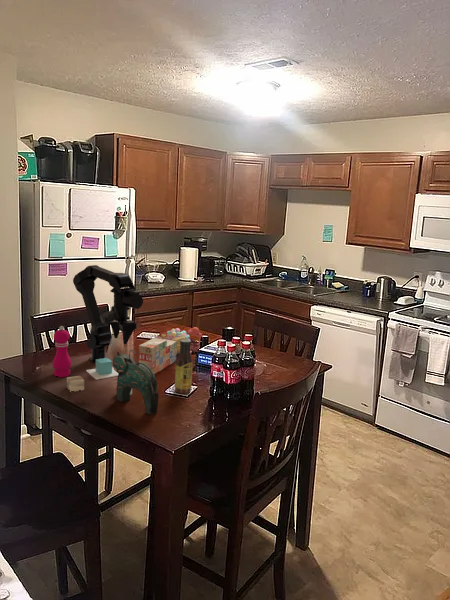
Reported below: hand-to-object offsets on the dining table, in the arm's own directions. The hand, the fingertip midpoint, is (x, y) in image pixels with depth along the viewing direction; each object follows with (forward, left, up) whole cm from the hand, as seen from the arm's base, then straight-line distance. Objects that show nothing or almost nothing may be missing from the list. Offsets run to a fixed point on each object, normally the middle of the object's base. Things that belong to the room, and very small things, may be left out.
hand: (120, 341), depth 209 cm
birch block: (+12, -23, -12) cm, 29 cm away
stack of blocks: (+5, +15, -12) cm, 20 cm away
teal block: (+2, -8, -12) cm, 14 cm away
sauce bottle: (+33, +11, -12) cm, 37 cm away
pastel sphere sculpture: (-15, +37, -13) cm, 42 cm away
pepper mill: (-4, -23, -12) cm, 26 cm away
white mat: (+2, -8, -12) cm, 15 cm away
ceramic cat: (+36, -10, -12) cm, 40 cm away
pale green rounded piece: (+25, -9, -12) cm, 29 cm away
